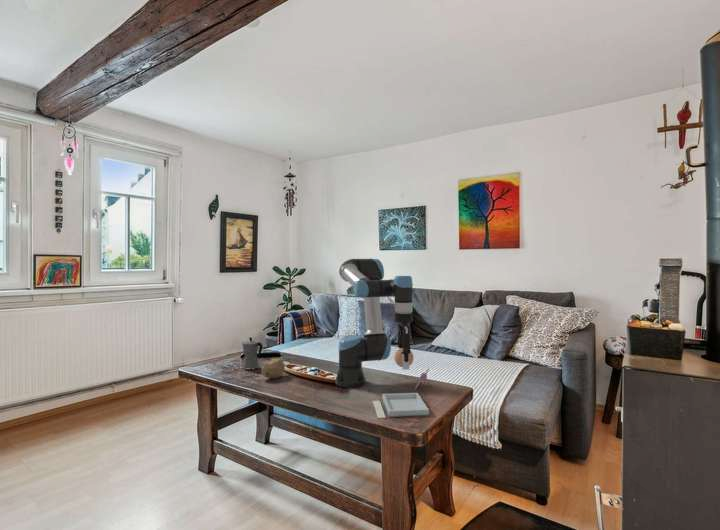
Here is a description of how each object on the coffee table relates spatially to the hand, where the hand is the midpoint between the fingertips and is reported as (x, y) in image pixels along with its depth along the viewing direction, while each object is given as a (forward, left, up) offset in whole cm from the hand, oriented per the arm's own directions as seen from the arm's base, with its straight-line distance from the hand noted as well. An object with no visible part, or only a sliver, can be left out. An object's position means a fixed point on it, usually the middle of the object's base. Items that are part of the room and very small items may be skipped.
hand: (403, 366), depth 157 cm
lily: (-24, +14, -17) cm, 32 cm away
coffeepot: (-67, -77, -17) cm, 103 cm away
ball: (0, 0, 0) cm, 0 cm away
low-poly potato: (-47, -62, -17) cm, 80 cm away
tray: (0, 0, -17) cm, 17 cm away
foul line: (+2, -11, -17) cm, 20 cm away
